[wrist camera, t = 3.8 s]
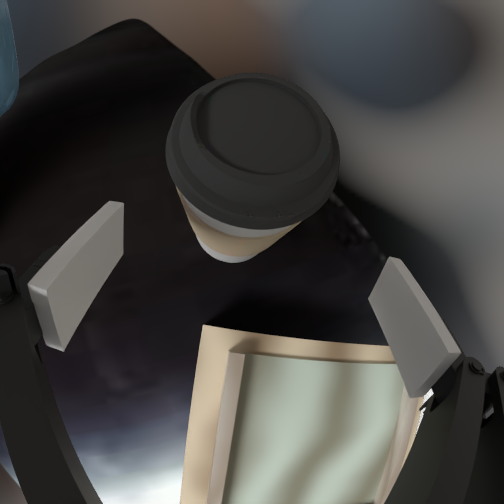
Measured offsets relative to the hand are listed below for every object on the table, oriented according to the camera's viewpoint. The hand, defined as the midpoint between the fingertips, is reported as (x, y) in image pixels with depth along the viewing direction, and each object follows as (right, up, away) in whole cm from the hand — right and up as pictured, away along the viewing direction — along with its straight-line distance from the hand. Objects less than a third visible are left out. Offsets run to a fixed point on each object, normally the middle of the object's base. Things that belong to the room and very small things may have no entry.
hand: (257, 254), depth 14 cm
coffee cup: (-2, +3, +13) cm, 13 cm away
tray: (+4, -16, +9) cm, 19 cm away
